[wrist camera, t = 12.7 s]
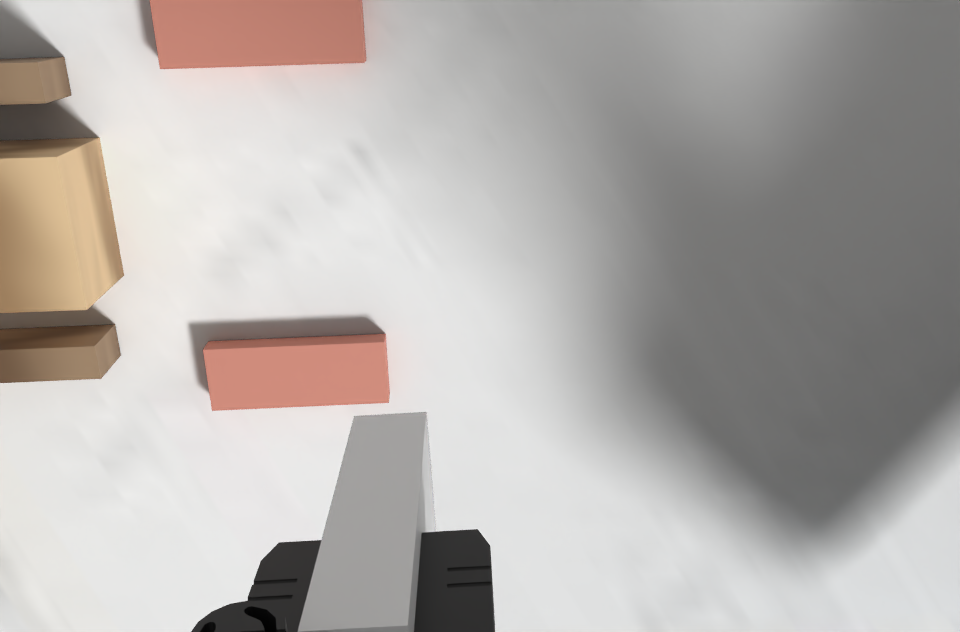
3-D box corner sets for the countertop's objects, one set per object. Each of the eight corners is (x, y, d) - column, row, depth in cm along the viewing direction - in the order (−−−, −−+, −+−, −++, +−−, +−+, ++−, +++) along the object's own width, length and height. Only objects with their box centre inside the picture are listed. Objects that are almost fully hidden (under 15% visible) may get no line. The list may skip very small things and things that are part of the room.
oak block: (100, 136, 36) (56, 156, 32) (125, 274, 38) (87, 309, 34) (-47, 141, 36) (-111, 162, 32) (-14, 279, 38) (-70, 315, 34)
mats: (360, -19, 34) (358, -19, 33) (389, 393, 41) (388, 402, 40) (155, -13, 34) (147, -13, 33) (217, 400, 40) (212, 410, 40)
